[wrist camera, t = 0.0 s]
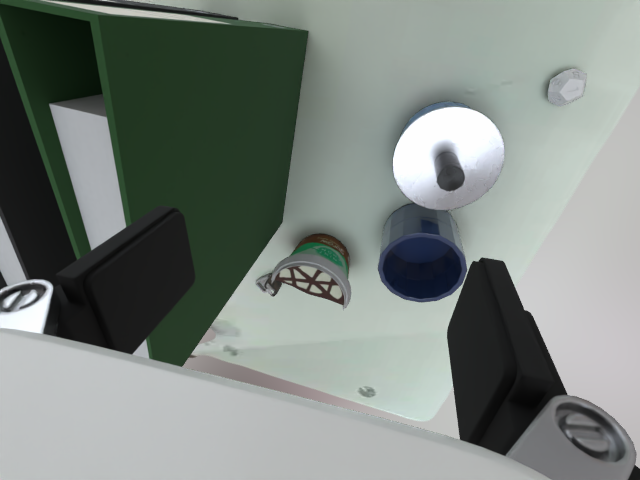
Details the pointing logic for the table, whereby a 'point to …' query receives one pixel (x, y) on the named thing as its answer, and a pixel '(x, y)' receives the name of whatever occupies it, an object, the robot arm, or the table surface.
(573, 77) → the game die
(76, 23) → the binder
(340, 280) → the food container
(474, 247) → the table surface
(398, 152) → the lid
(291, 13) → the table surface
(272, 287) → the strap clip
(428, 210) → the pot
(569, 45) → the table surface
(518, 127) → the table surface
